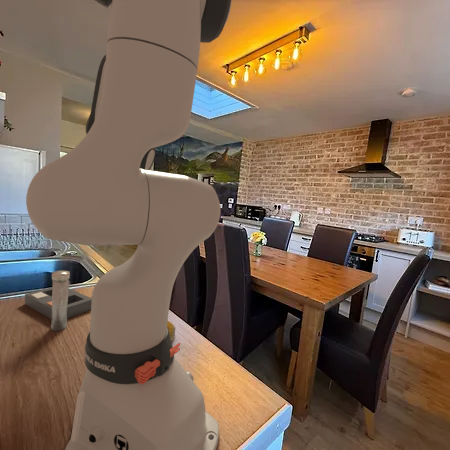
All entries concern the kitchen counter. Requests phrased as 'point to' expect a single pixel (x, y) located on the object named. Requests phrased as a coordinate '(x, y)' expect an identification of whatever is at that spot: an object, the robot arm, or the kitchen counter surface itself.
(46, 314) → the socket board
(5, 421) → the kitchen counter surface
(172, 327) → the bread roll
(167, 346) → the robot arm
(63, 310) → the metal plug
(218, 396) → the kitchen counter surface
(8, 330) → the kitchen counter surface
